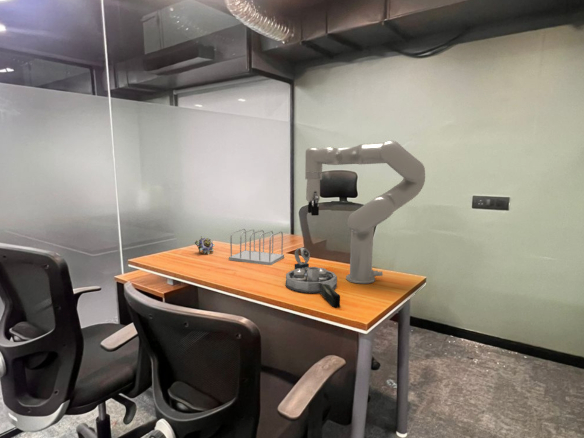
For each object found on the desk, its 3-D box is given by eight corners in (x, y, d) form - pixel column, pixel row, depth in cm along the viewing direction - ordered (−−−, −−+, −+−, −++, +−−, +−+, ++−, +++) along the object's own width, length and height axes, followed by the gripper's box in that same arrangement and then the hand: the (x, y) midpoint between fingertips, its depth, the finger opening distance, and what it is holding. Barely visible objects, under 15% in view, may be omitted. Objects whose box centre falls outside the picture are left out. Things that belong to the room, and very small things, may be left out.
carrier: (330, 276, 159) (330, 263, 158) (342, 292, 137) (342, 277, 136) (283, 277, 156) (283, 264, 155) (287, 294, 135) (288, 279, 134)
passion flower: (208, 263, 200) (201, 249, 192) (194, 257, 205) (187, 244, 197) (220, 249, 207) (214, 235, 199) (206, 244, 212) (200, 230, 204)
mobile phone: (341, 294, 122) (325, 280, 136) (333, 295, 121) (318, 281, 135) (341, 308, 123) (324, 292, 137) (333, 309, 122) (317, 293, 136)
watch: (304, 273, 164) (304, 250, 162) (291, 269, 169) (292, 247, 168) (311, 270, 168) (312, 248, 166) (299, 267, 173) (299, 245, 172)
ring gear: (330, 274, 158) (330, 267, 158) (341, 289, 137) (341, 282, 137) (284, 275, 156) (284, 268, 155) (288, 291, 135) (288, 283, 135)
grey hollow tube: (319, 283, 144) (319, 266, 143) (321, 288, 139) (322, 270, 138) (304, 284, 144) (305, 266, 143) (307, 289, 138) (307, 270, 137)
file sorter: (228, 260, 186) (228, 232, 184) (244, 253, 202) (244, 227, 200) (270, 265, 177) (270, 235, 175) (284, 257, 193) (284, 230, 191)
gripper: (302, 175, 164) (302, 211, 166) (308, 176, 147) (307, 216, 149) (318, 175, 165) (317, 211, 167) (325, 176, 147) (325, 216, 150)
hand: (313, 214), depth 158 cm, fingers open, 9 cm apart
